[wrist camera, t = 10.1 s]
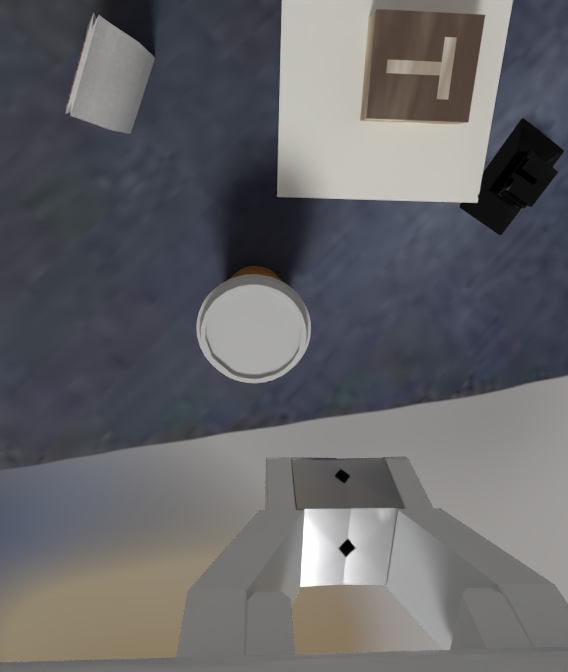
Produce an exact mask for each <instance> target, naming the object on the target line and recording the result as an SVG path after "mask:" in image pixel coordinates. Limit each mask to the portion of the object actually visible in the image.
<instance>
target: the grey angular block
mask: <svg viewBox="0 0 568 672" xmlns="http://www.w3.org/2000/svg"><path fill="white" fill-rule="evenodd" d="M154 59H155V57H154V56H153V55H152V54H151V53H150V52H149V51H147V50H146V49H145V48H144V47H143V46H142V45H141V44H140V43H139V42H138V41H136V40H135V39H133V38H132V37H130V36H129V35H127V34H126V33H124V32H123V31H121V30H120V29H118V28H117V27H115V26H114V25H112V24H111V23H109V22H108V21H106V20H105V19H104V18H102V17H101V16H99V15H98V17H97V19H96V16H95V14H94V12H93V16H92V17H91V18H90V21H89V25H88V29H87V32H86V36H85V40H84V43H83V47H82V51H81V54H80V58H79V62H78V65H77V69H76V73H75V76H74V80H73V84H72V87H71V91H70V94H69V98H68V102H67V105H66V114H67V113H69V112H71V116H73V117H76V118H79V119H82V120H85V121H87V122H90V123H93V124H96V125H98V126H101V127H104V128H107V129H109V130H113V131H118V132H124V133H129V134H131V131H132V128H133V125H134V122H135V118H136V115H137V112H138V109H139V106H140V103H141V100H142V97H143V94H144V90H145V87H146V84H147V81H148V78H149V75H150V72H151V69H152V66H153V62H154Z"/></svg>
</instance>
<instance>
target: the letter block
mask: <svg viewBox="0 0 568 672" xmlns="http://www.w3.org/2000/svg"><path fill="white" fill-rule="evenodd" d="M484 20H485V15H481V14H462V13H443V12H424V11H405V10H386V9H376V10H375V12H374V13H373V14H372V15H371V17H370V18H369V19H368V31H367V43H366V56H365V68H364V80H363V92H362V104H361V116H360V121H378V122H403V123H429V124H461V123H467V122H468V121H469V115H470V109H471V102H472V96H473V90H474V83H475V77H476V71H477V64H478V58H479V52H480V45H481V39H482V33H483V26H484Z"/></svg>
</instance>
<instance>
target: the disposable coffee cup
mask: <svg viewBox="0 0 568 672" xmlns="http://www.w3.org/2000/svg"><path fill="white" fill-rule="evenodd" d="M310 333H311V322H310V317H309V313H308V311H307V308H306V306H305V304H304V302H303V300H302V299H301V297H300V296H299V295H298V294H297V293H296V292H295V291H294V290H293V289H292V288H291V287H289V286H288V285H287V284H286V283H284V282H282V280H281V279H280V278H279V277H278V276H277V275H276V274H275V273H274V272H273V271H271V270H270V269H268V268H265V267H261V266H248V267H245V268H242V269H240V270H239V271H237V272H236V273H235V274H234V275H233V276H232V277H231V278H230V279H229V280H228V281H226V282H224V283H222V284H220V285H219V286H218V287H216V288H215V289H214V290H213V291H212V292H211V293H210V294H209V295H208V296H207V298H206V299H205V301H204V302H203V304H202V307H201V309H200V311H199V314H198V319H197V337H198V341H199V344H200V347H201V349H202V351H203V353H204V355H205V357H206V358H207V359H208V360H209V362H210V363H211V364H212V365H213V366H214V367H215V368H216V369H217V370H218V371H220V372H221V373H223V374H224V375H226V376H227V377H230V378H232V379H234V380H237V381H241V382H247V383H260V382H267V381H270V380H274V379H276V378H278V377H280V376H282V375H284V374H285V373H286V372H288V371H289V370H290V369H291V368H293V367H294V366H295V365H296V364H297V363H298V361H299V360H300V359H301V358H302V356H303V355H304V353H305V351H306V349H307V347H308V343H309V340H310Z"/></svg>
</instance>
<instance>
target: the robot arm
mask: <svg viewBox="0 0 568 672" xmlns="http://www.w3.org/2000/svg"><path fill="white" fill-rule="evenodd" d="M340 584H341V585H342V584H347V585H348V584H349V585H350V584H351V585H358V584H359V585H387V588H388V589H389V590H390V591H391V592H392V594H393V595H394V596H395V597H396V598H397V599H398V600H399V601H400V603H401V604H402V605H403V606H404V607H405V608H406V609H407V610H408V611H409V613H410V614H411V615H412V616H413V617H414V618H415V619H416V620H417V622H418V623H419V624H420V625H421V626H422V627H423V628H424V630H426V632H427V633H428V634H429V635H430V636H431V637H432V638H433V640H434V641H435V642H436V643H437V644H438V645H439V646H440V647H441V649H442V650H425V651H391V652H390V651H389V652H355V653H318V654H295V645H294V633H293V621H292V608H291V606H292V604H293V602H294V600H295V598H296V596H297V594H298V593H299V591H300V587H301V586H320V585H340ZM0 672H568V603H567V602H566V601H565V599H564V597H563V596H562V595H561V593H560V592H559V590H558V589H557V587H556V586H555V585H554V584H553V583H551V582H550V581H548V580H547V579H545V578H544V577H542V576H541V575H539V574H538V573H536V572H535V571H533V570H532V569H530V568H529V567H527V566H526V565H524V564H523V563H521V562H520V561H518V560H517V559H515V558H514V557H512V556H511V555H509V554H508V553H506V552H505V551H503V550H502V549H500V548H499V547H497V546H496V545H494V544H493V543H491V542H490V541H488V540H487V539H485V538H484V537H482V536H481V535H479V534H478V533H476V532H475V531H473V530H472V529H470V528H469V527H467V526H466V525H465V524H463V523H462V522H460V521H459V520H457V519H455V518H454V517H452V516H451V515H449V514H448V513H446V512H445V511H444V510H442V509H434V508H433V506H432V504H431V502H430V500H429V499H428V497H427V495H426V493H425V491H424V489H423V487H422V485H421V483H420V481H419V479H418V477H417V475H416V473H415V471H414V469H413V467H412V465H411V463H410V461H409V459H408V458H406V457H382V458H359V459H358V458H357V459H356V458H354V459H337V458H297V457H291V458H289V457H267V458H266V481H265V510H260V511H259V512H258V513H257V514H256V515H255V517H253V519H252V520H251V521H250V522H249V523H248V524H247V525H246V526H245V528H244V529H243V530H242V531H241V532H240V533H239V534H238V535H237V537H236V538H235V539H234V540H233V541H232V542H231V543H230V544H229V545H228V547H227V548H226V549H225V550H224V551H223V552H222V553H221V554H220V555H219V557H218V558H217V559H216V560H215V561H214V562H213V563H212V565H211V566H210V567H209V568H208V569H207V570H206V571H205V572H204V573H203V574H202V576H201V577H200V578H199V579H198V580H197V581H196V582H195V583H194V584H193V586H192V587H191V588H190V589H189V590H188V592H187V598H186V604H185V610H184V615H183V621H182V627H181V633H180V639H179V644H178V650H177V656H176V657H174V658H138V659H102V660H66V661H29V662H0Z"/></svg>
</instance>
